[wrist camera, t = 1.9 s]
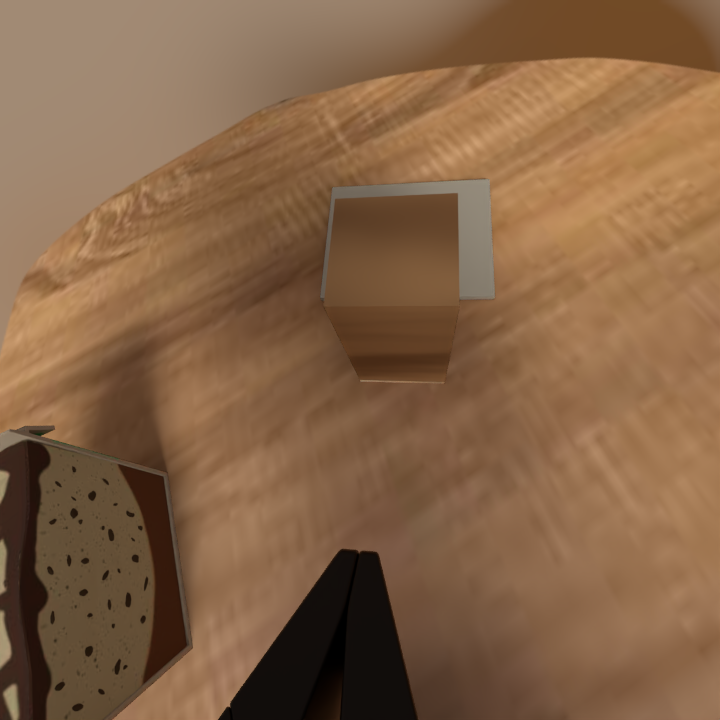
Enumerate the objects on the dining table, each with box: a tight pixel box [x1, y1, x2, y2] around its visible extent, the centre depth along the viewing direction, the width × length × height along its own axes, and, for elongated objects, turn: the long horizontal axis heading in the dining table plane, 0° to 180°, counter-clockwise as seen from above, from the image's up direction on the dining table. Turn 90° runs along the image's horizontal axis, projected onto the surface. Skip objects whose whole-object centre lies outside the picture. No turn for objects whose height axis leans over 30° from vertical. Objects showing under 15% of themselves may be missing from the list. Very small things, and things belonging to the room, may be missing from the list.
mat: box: [320, 179, 495, 301], centre depth 27 cm, size 9×11×1 cm
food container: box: [0, 426, 192, 720], centre depth 18 cm, size 12×6×10 cm, turn 18°
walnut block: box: [324, 193, 460, 384], centre depth 20 cm, size 5×5×10 cm
